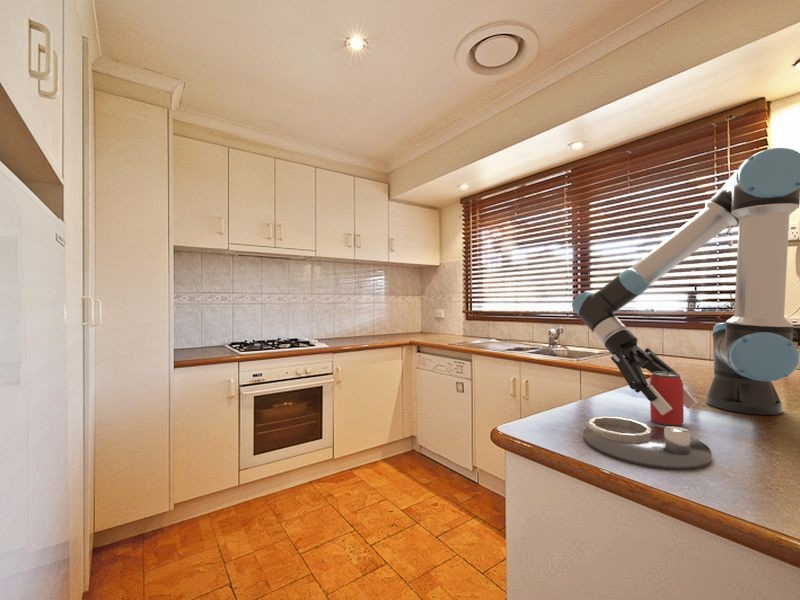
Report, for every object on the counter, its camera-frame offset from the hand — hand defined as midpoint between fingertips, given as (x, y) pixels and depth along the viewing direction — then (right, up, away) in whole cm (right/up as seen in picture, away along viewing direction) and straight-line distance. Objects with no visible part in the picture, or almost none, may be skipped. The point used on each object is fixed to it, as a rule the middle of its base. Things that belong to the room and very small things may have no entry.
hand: (680, 408), depth 87 cm
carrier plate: (-16, -5, -11) cm, 20 cm away
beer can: (-1, -4, +3) cm, 5 cm away
